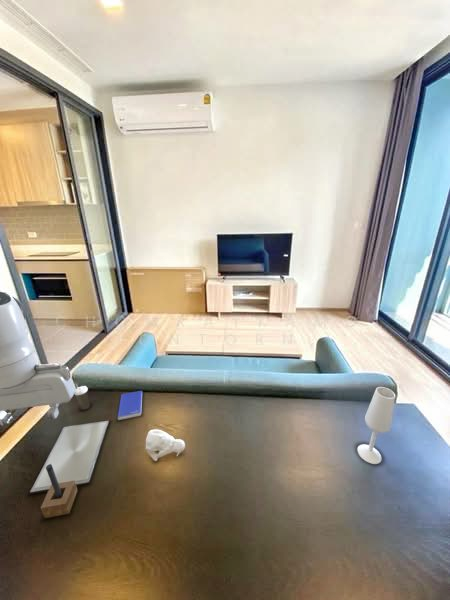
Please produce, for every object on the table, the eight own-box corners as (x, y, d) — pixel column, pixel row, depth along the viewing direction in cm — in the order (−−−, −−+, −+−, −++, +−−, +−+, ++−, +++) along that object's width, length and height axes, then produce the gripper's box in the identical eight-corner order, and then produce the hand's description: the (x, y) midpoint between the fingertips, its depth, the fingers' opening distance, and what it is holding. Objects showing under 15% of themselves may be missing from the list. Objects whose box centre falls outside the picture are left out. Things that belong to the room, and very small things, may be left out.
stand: (44, 518, 63) (40, 508, 62) (55, 494, 68) (51, 484, 67) (69, 513, 64) (65, 503, 63) (77, 490, 69) (74, 480, 68)
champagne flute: (385, 455, 78) (403, 393, 70) (376, 468, 74) (394, 405, 66) (363, 440, 83) (377, 381, 75) (353, 452, 79) (367, 391, 71)
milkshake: (87, 400, 102) (82, 380, 98) (94, 406, 99) (88, 385, 95) (75, 407, 98) (69, 386, 95) (82, 413, 95) (76, 392, 92)
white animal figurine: (148, 424, 79) (186, 425, 80) (149, 443, 82) (185, 444, 83) (143, 441, 73) (184, 442, 74) (144, 462, 76) (183, 463, 77)
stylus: (58, 506, 66) (44, 469, 61) (60, 501, 67) (47, 464, 62) (63, 505, 66) (50, 468, 61) (65, 500, 67) (52, 463, 62)
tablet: (30, 494, 68) (29, 491, 68) (64, 428, 89) (63, 426, 88) (89, 484, 71) (88, 481, 70) (109, 422, 91) (108, 420, 91)
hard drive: (140, 412, 93) (141, 390, 105) (117, 416, 91) (121, 394, 103) (141, 415, 94) (142, 393, 105) (118, 420, 92) (121, 397, 103)
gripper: (72, 354, 56) (85, 403, 61) (-33, 364, 52) (-10, 415, 57) (60, 371, 50) (75, 423, 55) (-59, 384, 47) (-32, 438, 52)
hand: (31, 419), depth 56 cm, fingers open, 8 cm apart
